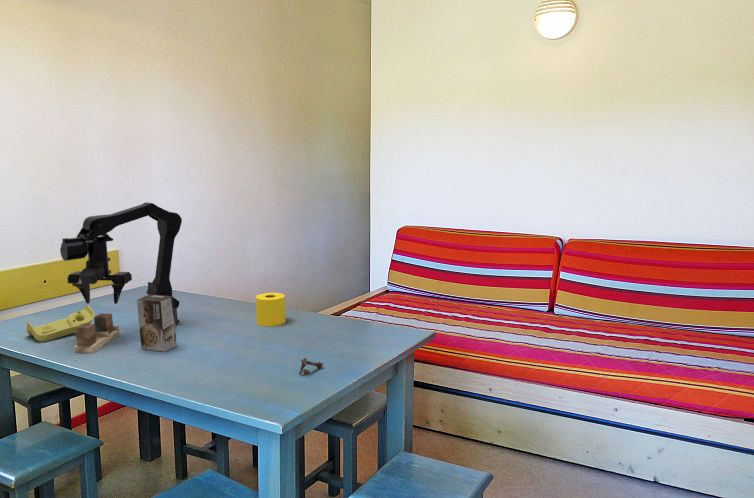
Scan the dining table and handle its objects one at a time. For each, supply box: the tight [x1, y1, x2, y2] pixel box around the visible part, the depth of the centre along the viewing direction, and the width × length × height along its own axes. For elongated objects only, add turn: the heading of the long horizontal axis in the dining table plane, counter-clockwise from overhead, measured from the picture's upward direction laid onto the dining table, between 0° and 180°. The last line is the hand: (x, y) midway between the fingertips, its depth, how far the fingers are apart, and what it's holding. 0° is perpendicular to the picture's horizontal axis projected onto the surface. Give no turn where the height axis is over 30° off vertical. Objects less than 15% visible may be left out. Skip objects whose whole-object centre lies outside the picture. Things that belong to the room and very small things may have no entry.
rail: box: [73, 323, 121, 354], centre depth 199 cm, size 6×17×8 cm, turn 176°
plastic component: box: [26, 304, 96, 343], centre depth 211 cm, size 20×7×10 cm
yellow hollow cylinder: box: [255, 292, 286, 327], centre depth 221 cm, size 10×10×9 cm
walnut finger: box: [93, 313, 114, 334], centre depth 203 cm, size 4×5×6 cm
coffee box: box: [136, 294, 178, 352], centre depth 195 cm, size 9×6×16 cm
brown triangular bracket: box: [298, 357, 324, 375], centre depth 175 cm, size 2×8×4 cm, turn 138°
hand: (102, 303), depth 203 cm, fingers open, 9 cm apart
